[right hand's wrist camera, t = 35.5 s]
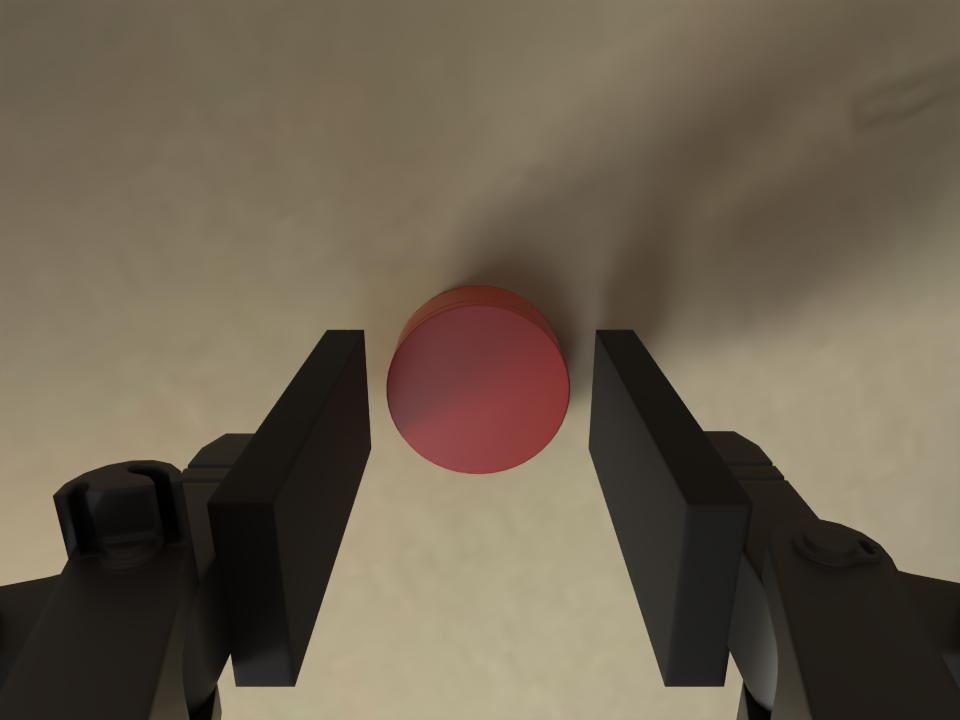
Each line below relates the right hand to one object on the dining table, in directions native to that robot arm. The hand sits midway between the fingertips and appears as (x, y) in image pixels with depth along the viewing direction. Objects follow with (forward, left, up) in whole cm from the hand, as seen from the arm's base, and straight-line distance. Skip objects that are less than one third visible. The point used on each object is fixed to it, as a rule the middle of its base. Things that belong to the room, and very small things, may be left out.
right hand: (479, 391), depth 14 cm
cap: (0, 0, 0) cm, 0 cm away
